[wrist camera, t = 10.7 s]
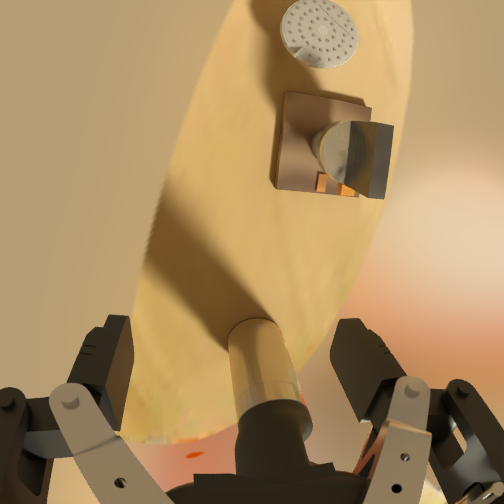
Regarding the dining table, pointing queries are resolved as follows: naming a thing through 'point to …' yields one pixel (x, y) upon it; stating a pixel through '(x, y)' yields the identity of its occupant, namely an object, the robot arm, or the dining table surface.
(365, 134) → the knob
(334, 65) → the showerhead
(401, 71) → the dining table surface
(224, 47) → the dining table surface
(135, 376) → the dining table surface
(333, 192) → the post base
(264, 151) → the dining table surface
